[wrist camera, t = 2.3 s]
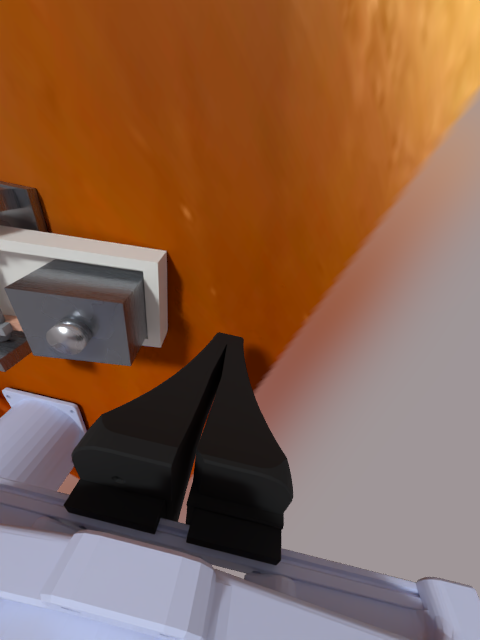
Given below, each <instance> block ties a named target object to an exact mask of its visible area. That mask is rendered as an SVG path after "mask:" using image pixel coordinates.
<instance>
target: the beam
mask: <svg viewBox="0 0 480 640" xmlns="http://www.w3.org/2000/svg"><path fill="white" fill-rule="evenodd" d="M55 259H57V260H64V261H71V262H78V263H85V264H91V265H98V266H105V267H112V268H119V269H126V270H133V271H139V272H143V277H144V290H145V304H146V318H147V332H148V334H147V336H146V338H145V340H144V342H143V344H142V346H151V347H159V348H161V346H162V343H163V341H164V338H165V336H166V334H167V331H168V310H167V251H163V250H157V249H150V248H144V247H137V246H131V245H125V244H118V243H112V242H105V241H99V240H92V239H86V238H79V237H73V236H66V235H60V234H53V233H47V232H41V231H34V230H28V229H21V228H15V227H8V226H2V225H0V342H2V341H6V340H8V339H10V338H11V337H12V335H13V334H12V331H13V330H16V331H23V330H22V328H21V325H20V323H19V321H18V319H17V316H16V314H15V312H14V310H13V307H12V305H11V303H10V300H9V298H8V296H7V294H6V291H5V289H4V288H5V287H6V286H8V285H10V284H12V283H14V282H15V281H17V280H19V279H21V278H23V277H24V276H26V275H28V274H30V273H31V272H33V271H35V270H37V269H39V268H40V267H42V266H44V265H46V264H47V263H49V262H51V261H53V260H55Z"/></svg>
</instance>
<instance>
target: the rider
mask: <svg viewBox="0 0 480 640" xmlns="http://www.w3.org/2000/svg"><path fill="white" fill-rule="evenodd" d="M4 289H5V291H6V294H7V296H8V298H9V300H10V303H11V305H12V307H13V310H14V312H15V314H16V316H17V319H18V321H19V323H20V325H21V328H22V330H23V332H24V335H25V337H26V339H27V341H28V344H29V346H30V348H31V350H32V353H33V355H36V356H45V357H54V358H63V359H73V360H82V361H91V362H100V363H109V364H118V365H127V366H131V365H132V363H133V361H134V359H135V357H136V355H137V353H138V351H139V349H140V347H141V346H142V344H143V342H144V340H145V338H146V336H147V334H148V332H147V318H146V304H145V290H144V277H143V272H139V271H133V270H126V269H119V268H112V267H105V266H98V265H91V264H85V263H78V262H71V261H64V260H57V259H55V260H53V261H51V262H49V263H47V264H46V265H44V266H42V267H40V268H39V269H37V270H35V271H33V272H31V273H30V274H28V275H26V276H24V277H23V278H21V279H19V280H17V281H15V282H14V283H12V284H10V285H8V286H6V287H5V288H4Z"/></svg>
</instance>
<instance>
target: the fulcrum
mask: <svg viewBox="0 0 480 640" xmlns="http://www.w3.org/2000/svg"><path fill="white" fill-rule="evenodd" d="M0 225H2V226H8V227H15V228H21V229H28V230H34V231H41V232H47V233H48V230H47V226H46V223H45V219H44V215H43V212H42V208H41V205H40V201H39V198H38V194H37V191H36V188H31V187H26V186H22V185H17V184H12V183H7V182H2V181H0ZM12 334H13V335H12V337H11V338H10V339H8V340H6V341H2V342H0V371H4V372H6V371H7V370H8V369H10V368H11V367H12V366H14V365H15V364H16V363H18V362H19V361H20V360H22V359H23V358H24V357H26V356H27V355H28V354H30V353H31V352H32V350H31V348H30V346H29V344H28V341H27V339H26V337H25V335H24V332H23V331H16V330H13V331H12Z"/></svg>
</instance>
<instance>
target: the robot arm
mask: <svg viewBox="0 0 480 640" xmlns="http://www.w3.org/2000/svg"><path fill="white" fill-rule="evenodd" d="M243 342H244V339H243V338H242V337H237V336H233V335H228V334H224V333H220V332H219V333H217V334H216V335H215V336H214V338H213V339H212V340H211V341H210V343H209V344H208V345H207V346H206V347H205V348H204V349H203V350H202V351H201V352H200V353H199V354H198V355H197V356H196V357H195V358H194V359H193V360H192V361H190V362H189V363H188V364H187V365H186V366H185V367H184V368H182V369H181V370H180V371H179V372H177V373H176V374H175V375H173V376H172V377H171V378H169V379H168V380H166V381H165V382H163V383H162V384H160V385H159V386H157V387H155V388H154V389H152V390H151V391H149V392H147V393H145V394H143V395H141V396H140V397H138V398H136V399H134V400H132V401H130V402H128V403H126V404H124V405H122V406H120V407H118V408H115V409H113V410H111V411H109V412H107V413H104V414H102V415H101V416H100V417H99V418H98V419H97V420H96V422H95V423H94V424H93V425H92V426H91V427H90V428H89V429H88V431H87V430H86V427H85V425H84V422H83V419H82V416H81V413H80V411H79V408H78V406H77V405H76V404H74V403H70V402H66V401H62V400H58V399H53V398H49V397H45V396H41V395H37V394H32V393H28V392H24V391H20V390H16V389H11V388H5V389H4V390H2V393H3V394H4V396H5V398H6V399H7V401H8V402H9V404H10V406H11V407H12V408H11V409H10V410H9V411H8V412H7V413H5V414H4V415H3V416H2V417H1V418H0V640H480V599H479V597H478V594H477V592H476V590H475V589H474V588H473V587H472V586H469V585H465V584H461V583H457V582H453V581H449V580H445V579H441V578H436V577H425V578H422V579H420V580H418V581H417V582H412V581H409V580H405V579H401V578H397V577H393V576H389V575H385V574H381V573H377V572H373V571H369V570H365V569H361V568H357V567H354V566H350V565H345V564H342V563H338V562H334V561H330V560H326V559H322V558H318V557H314V556H310V555H306V554H302V553H298V552H294V551H290V550H286V549H282V548H281V529H283V525H284V523H283V513H284V511H285V510H286V509H287V507H288V506H289V504H290V503H291V501H292V499H293V486H292V479H291V474H290V469H289V464H288V461H287V458H286V456H285V454H284V453H283V451H282V450H281V448H280V447H279V445H278V443H277V442H276V440H275V438H274V436H273V435H272V433H271V431H270V429H269V427H268V425H267V423H266V421H265V419H264V417H263V415H262V413H261V411H260V409H259V406H258V404H257V401H256V399H255V396H254V393H253V390H252V387H251V384H250V381H249V377H248V373H247V369H246V364H245V358H244V350H243ZM215 395H216V396H215ZM214 397H215V399H214ZM213 400H214V402H213ZM212 403H213V405H212ZM211 405H212V408H211ZM210 408H211V411H210ZM209 411H210V413H209ZM208 413H209V416H208ZM207 416H208V419H207V422H206V425H205V428H204V430H203V427H204V424H205V421H206V418H207ZM202 431H203V433H202ZM201 434H202V436H201ZM200 438H201V439H200ZM199 441H200V442H199ZM195 456H196V459H195ZM194 459H195V468H194V477H193V483H192V487H191V490H190V494H189V497H188V501H187V516H186V524H183V523H179V522H178V519H179V515H180V511H181V508H182V504H183V500H184V496H185V493H186V492H185V491H186V489H187V485H188V481H189V478H190V474H191V470H192V467H193V463H194ZM74 466H75V468H76V470H77V472H78V475H79V477H80V480H79V481H78V483H77V485H76V486H75V488H74V489H73V491H72V492H71V494H70V495H69V494H65V493H61V492H57V490H58V489H59V487H60V486H61V484H62V483H63V481H64V480H65V479H66V477H67V476H68V474H69V473H70V471H71V470H72V468H73V467H74ZM211 564H212V565H216V566H220V567H223V568H227V569H231V570H236V571H239V572H243V573H247V574H246V575H245V578H244V579H242V578H239V577H236V576H233V575H231V574H228V573H225V572H222V571H220V570H217V569H214V568H213V567H212V565H211Z"/></svg>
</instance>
